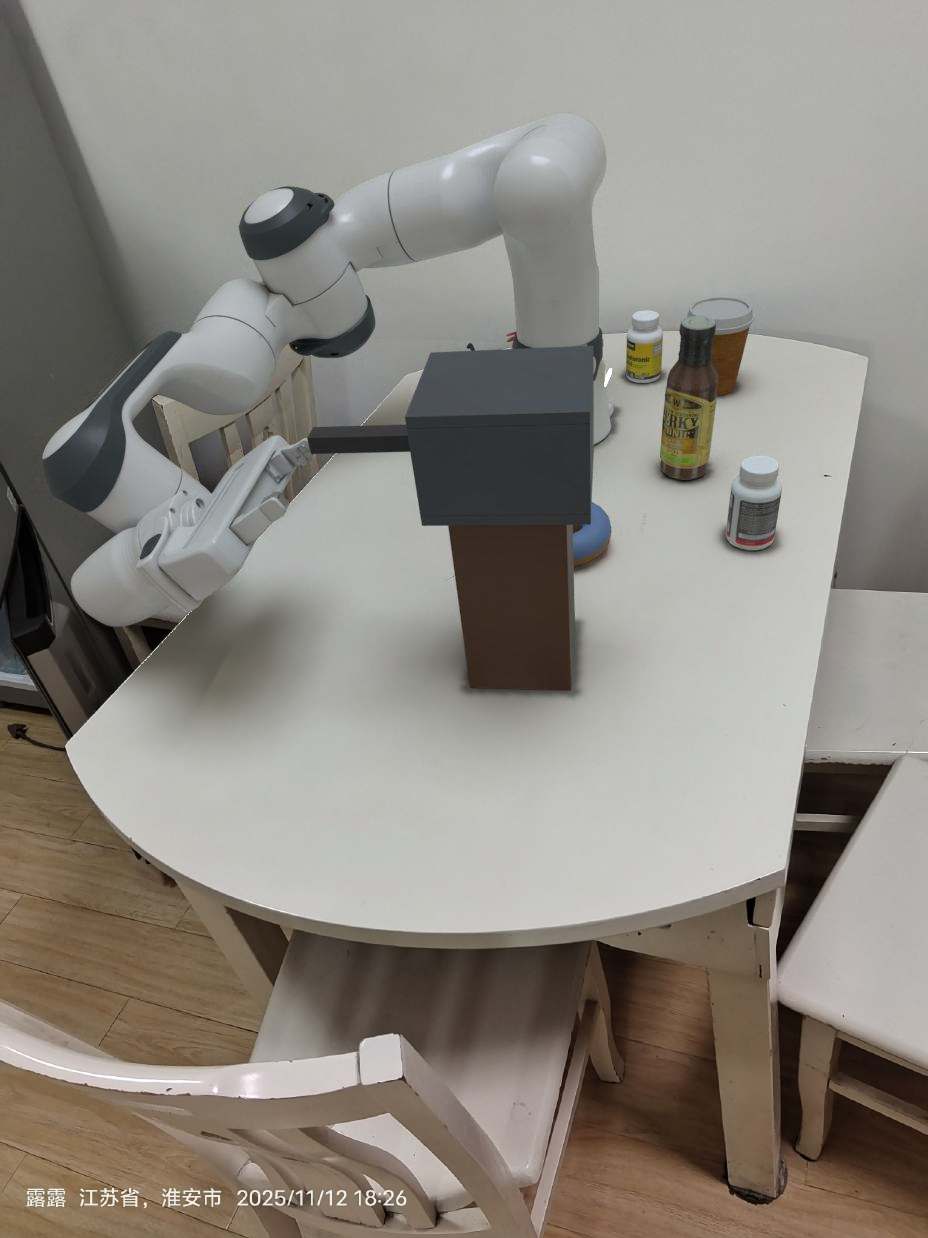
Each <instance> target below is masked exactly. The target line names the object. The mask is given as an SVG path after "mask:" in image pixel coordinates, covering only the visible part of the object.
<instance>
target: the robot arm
mask: <svg viewBox="0 0 928 1238" xmlns="http://www.w3.org/2000/svg"><path fill="white" fill-rule="evenodd" d="M606 170H607V151H606V145H605V142H604V138H603V135H602V133H601V132H600V130H599V128H598V127H597V126H596V125H595V123H594V122H593V121H591V120H590V119H589V118H587V116H586V117H585V116H583V115H582V114H578V113H573V112H560V113H555V114H551V115H548V116H545V117H542V118H540V119H536V120H534V121H531V122H528V123H524V124H522V125H520V126H517V127H515V128H514V127H513V128H512V129H508V130H506V131H503V132H502V133H498V134H496V135H493V136H491V137H488V138H486V139H483V140H480V141H478V142H475V143H473V144H471V145H468V146H466V147H463V148H460V149H458V150H456V151H452V152H450V153H447V154H443V155H440V156H437V157H433V158H431V159H427V160H423V161H421V162H417V163H413V164H411V165H408V166H404V167H401V168H397V169H394V170H392V171H389V172H386V173H385V172H384V173H382V174H380V175H377V176H375V177H373V178H371V179H368V180H366V181H364V182H362V183H360V184H357V185H356V186H353V187H352V188H350V189H349V190H347V191H345V192H344V193H342V194H341V195H339V196H338V197H337V198H335V199H334V200H333V198H331V197H330V196H329V195H328V194H326V193H324V192H313V191H311V190H310V189H307V188H303V187H298V186H291V185H289V186H288V185H287V186H280V187H277V188H273V189H271V190H269V191H266V192H265V193H263V194H261V195H259V197H257V198H256V199H255V200H254V201H252V202H251V203H250V204H249V205H248V207H246V208H245V210H244V211H243V213H242V215H241V218H240V222H239V224H238V231H239V236H240V239H241V243H242V245H243V247H244V249H245V250H244V251H245V252H246V255H247V256H248V257H249V258H250V259H251V260H252V261H253V263H254V265H255V268H256V270H257V272H258V274H259V276H260V277H261V281H260V282H259V281H257V280H254V279H249V278H236V279H232V280H229V281H227V282H225V283H223V285H221V286H220V287H219V288H218V289H217V290H216V291H215V292H214V293H213V294H212V295H211V297H210V298H209V299H208V300H207V301H206V303H205V304H204V305H203V307H202V308H201V310H200V311H199V313H198V314H197V316H196V318H195V319H194V321H193V323H192V325H191V327H190V329H189V331H188V332H187V333H182V332H179V331H175V330H168V331H165V332H163V333H161V334H158V336H156V337H154V338H153V339H151V340H150V341H149V342H148V343H147V344H146V345H144V346H143V347H142V348H141V349H140V350H139V351H138V352H137V353H135V355H134V356H133V357H131V358H130V359H129V361H128V362H126V364H125V365H123V366H122V368H121V369H120V370H119V371H118V372H117V373H116V374H114V375H115V376H113V378H112V379H110V381H109V382H108V383H107V384H106V385H105V386H104V387H103V388H102V389H101V390H100V392H99V393H98V394H97V395H96V396H95V397H94V398H93V399H92V400H91V401H90V402H89V403H88V405H86V407H85V408H84V409H83V410H81V412H80V413H79V414H77V415H75V416H74V417H73V418H71V419H69V420H68V421H67V422H66V423H64V424H63V425H62V426H61V427H60V428H59V429H58V430H57V431H56V432H55V433H54V434H53V436H52V437H50V438H49V441H48V442H47V444H46V446H45V448H44V450H43V453H42V455H41V457H40V466H41V471H42V474H43V479H44V481H45V484H46V487H47V489H48V492H49V494H50V495H51V496H52V497H54V498H56V499H58V500H59V501H62V502H63V503H65V504H66V505H69V506H70V507H73V508H74V509H76V510H77V511H78V512H79V511H80V512H82V513H85V514H86V515H88V516H89V517H91V518H92V519H93V520H95V521H97V522H98V523H99V524H101V525H102V526H105V527H106V528H107V529H108V530H109V531H112V532H113V533H114V534H115V535H114V536H112V537H111V538H110V539H109V540H107V541H106V542H104V543H103V544H102V545H101V546H100V547H98V548H97V549H96V550H95V551H94V552H92V553H91V554H90V555H89V556H88V557H87V558H86V559H85V560H84V561H82V563H81V564H80V565H79V566H78V568H76V570H75V571H74V573H73V574H72V576H71V579H70V590H71V594H72V596H73V598H74V600H75V602H76V603H77V604H78V606H79V607H80V608H81V610H83V612H84V613H86V614H87V615H88V616H90V618H93V619H94V620H96V621H98V622H99V623H101V624H103V625H105V626H108V627H114V628H123V627H128V626H131V625H134V624H138V623H140V622H143V621H145V620H147V619H149V618H151V617H154V616H155V615H157V614H159V613H161V612H163V611H164V610H166V609H168V608H170V607H171V606H173V605H174V606H175V607H177V608H178V609H180V610H181V611H183V612H184V613H185V614H188V613H191V612H193V611H194V610H196V609H198V608H200V606H201V605H202V604H203V602H204V601H205V599H207V598H208V597H209V596H211V595H213V594H214V593H215V592H217V591H219V589H221V588H223V587H224V586H226V585H227V584H229V582H231V580H233V578H234V577H235V576H237V574H238V573H239V572H240V571H241V570H242V568H243V566H244V564H245V563H246V560H247V558H248V557H249V555H250V553H251V551H252V549H253V547H254V546H255V544H256V542H257V541H258V538H259V537H260V536H261V535H262V534H263V533H264V532H265V531H266V530H267V529H268V528H269V527H270V526H271V525H272V524H273V523H274V522H276V521H278V520H279V519H280V518H282V517H284V516H285V514H286V513H287V510H288V508H289V506H290V501H289V500H288V498H285V497H284V495H283V493H284V490H285V489H286V486H287V485H288V483H289V481H290V479H291V477H292V476H293V474H294V472H295V470H296V469H297V467H298V466H301V467H304V466H305V465H307V464H308V463H309V462H312V461H313V460H314V459H315V457H316V456H317V454H311V452H310V448H309V444H308V440H307V437H303V438H302V439H301V440H299V441H297V442H296V443H294V444H289V443H288V442H287V441H286V439H285V438H283V437H282V436H281V435H279V434H277V435H276V434H275V435H272V436H270V437H268V438H266V439H265V440H264V441H262V442H261V443H259V444H258V445H257V446H256V447H254V448H253V449H252V450H250V451H249V452H248V453H247V454H245V455H244V456H243V457H241V458H240V459H238V461H236V462H235V463H234V464H233V465H232V466H231V467H230V468H229V469H228V470H227V471H226V472H224V474H223V476H222V477H221V479H220V480H219V482H218V483H217V485H216V486H215V488H214V489H213V491H212V492H210V490H209V489H208V488H206V486H204V485H203V484H202V483H200V482H199V481H198V480H196V478H194V477H193V476H191V474H189V473H188V472H186V471H185V470H184V469H182V468H181V467H180V466H177V465H176V464H175V463H174V462H172V461H171V460H170V459H169V458H168V457H166V456H164V455H163V454H162V453H161V452H160V451H158V450H157V449H155V448H154V447H153V446H152V445H150V443H148V442H146V440H144V439H143V438H142V436H141V435H139V433H138V432H137V430H136V428H135V427H134V425H133V421H134V420H135V418H136V417H138V415H139V414H140V413H141V411H143V409H144V408H145V407H146V406H147V404H148V403H149V402H150V401H151V400H152V399H153V397H154V396H155V395H156V396H161V397H165V398H167V399H170V400H173V401H175V402H178V403H181V404H182V405H184V406H187V407H189V408H191V409H193V410H195V411H197V412H200V413H204V414H207V415H213V416H234V415H239V414H242V413H244V412H246V411H248V410H250V409H252V408H253V407H255V406H256V405H257V404H258V403H259V402H260V400H261V399H262V397H264V395H265V393H266V392H267V390H268V388H269V385H270V383H271V381H272V378H273V376H274V373H275V371H276V367H277V365H278V362H279V359H280V355H281V353H282V352H283V350H284V349H285V347H286V346H287V345H289V348H290V349H291V350H292V351H293V352H294V353H296V354H298V355H300V356H302V357H303V356H305V357H306V356H307V357H308V356H309V357H310V356H313V357H315V358H320V359H321V358H322V359H340V358H344V357H348V356H350V355H351V354H354V353H355V352H357V351H358V350H360V349H361V348H362V347H363V346H364V345H365V344H366V343H367V342H368V341H369V340H370V338H371V336H372V334H373V333H374V330H375V328H376V317H375V311H374V307H373V304H372V301H371V298H370V297H369V296H368V295H367V293H366V292H365V289H364V285H363V284H362V282H361V279H360V276H359V274H358V272H359V271H361V270H363V269H383V268H384V269H385V268H392V267H393V268H394V267H400V266H405V265H406V266H407V265H410V264H411V265H412V264H415V263H419V262H422V261H428V260H430V259H435V258H439V257H443V256H447V255H451V254H455V253H459V252H463V251H467V250H470V249H474V248H477V247H479V246H481V245H482V244H485V243H487V242H488V241H491V240H493V239H496V238H498V237H500V236H502V237H503V242H504V245H505V246H504V247H505V250H506V254H507V258H508V263H509V267H510V271H511V279H512V286H513V299H514V300H513V301H514V315H515V318H514V319H515V331H513V332H511V333H510V332H509V333H508V334H506V335H505V337H509V338H508V339H507V340H506V343H511V342H512V345H511V349H525V348H548V347H572V346H593V378H594V445H596V444H598V443H600V442H601V441H603V440H604V439H605V438H606V437H607V436H608V435H609V434H610V432H611V430H612V423H611V418H612V416H613V414H614V412H615V409H614V403H613V402H611V401H610V399H609V390H608V383H609V380H610V378H611V376H612V373H613V368H609V369H608V371H607V370H606V369H607V368H606V363H605V360H604V359H603V357H604V338H603V330H602V328H601V327H600V268H599V265H598V262H597V255H596V249H595V248H596V247H595V239H594V238H595V237H594V227H593V207H594V201H595V196H596V194H597V193H598V191H599V189H600V187H601V186H602V183H603V181H604V178H605V174H606ZM466 349H468V350H469V351H476V348H475V346H474V345H473V343H472V342H469V343H468V344H467V345H466Z"/></svg>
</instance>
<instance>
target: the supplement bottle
mask: <svg viewBox="0 0 928 1238" xmlns="http://www.w3.org/2000/svg"><path fill="white" fill-rule="evenodd" d="M659 324H660V314H659V312H657V311H656V310H649V309H648V310H644V309H643V310H638V311H636V312H634V313H632V315H631V328H629V329H628V330H627V333H626V351H625V353H626V354H625V355H626V356H625V376H626V378H627V380H628V381H631V382H633V383H637V384H649V383H653V382H655V381H657V380H658V379H659V378H660V377H661V375H662V363H663V344H664V343H663V341H664V332H663V329H662V328H661V327H660V326H659Z"/></svg>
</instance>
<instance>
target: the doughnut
mask: <svg viewBox="0 0 928 1238" xmlns="http://www.w3.org/2000/svg"><path fill="white" fill-rule="evenodd" d="M573 530H577V531H576V532H573V557H574V567H575V566H579V565H580V566H581V565H583V564H586V563H588V562H590V561H593V560H595V559H596V558H597V557H599V556H600V555H601V554H603V552H604V551H605V550H606V549H607V547H608V545H609V544H610V541H611V537H612V525H611V520H610V516H609V515H608V513H607V512H606V511H605V510H604V509H603V508H602V506H600V505H598V504H597V503H595V502H594V501H592V506H591V524H590V525H573Z"/></svg>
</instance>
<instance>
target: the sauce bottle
mask: <svg viewBox="0 0 928 1238" xmlns="http://www.w3.org/2000/svg"><path fill="white" fill-rule="evenodd" d="M715 331H716V321H715V320H714V319H712V318H710V317H706V316H691V317H687V318H683V319H682V320H681V322H680V325H679V335H680V342H679V351H678V359H677V361H676V362H675V363H674V364H673V366H672V367H671V368H670V370H669V372H668V376H667V380H666V386H665V390H664V392H665V393H664V403H663V413H662V421H661V422H662V423H661V436H660V449H659V456H660V457H659V458H660V470H661V471H662V472H663V474H665V475H666V476H668V477H669V478H673V479H677V480H682V481H691V480H694V479H698V478H701V477H702V476H704V475H705V473H706V472H707V470H708V462H709V460H710V456H711V448H712V440H713V439H712V438H713V431H714V424H715V415H716V409H717V401H718V399H717V398H718V396H717V386H718V373H717V371H716V368H715V366H714V365H713V364H712V362H711V357H712V343H713V337H714V335H715Z"/></svg>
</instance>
